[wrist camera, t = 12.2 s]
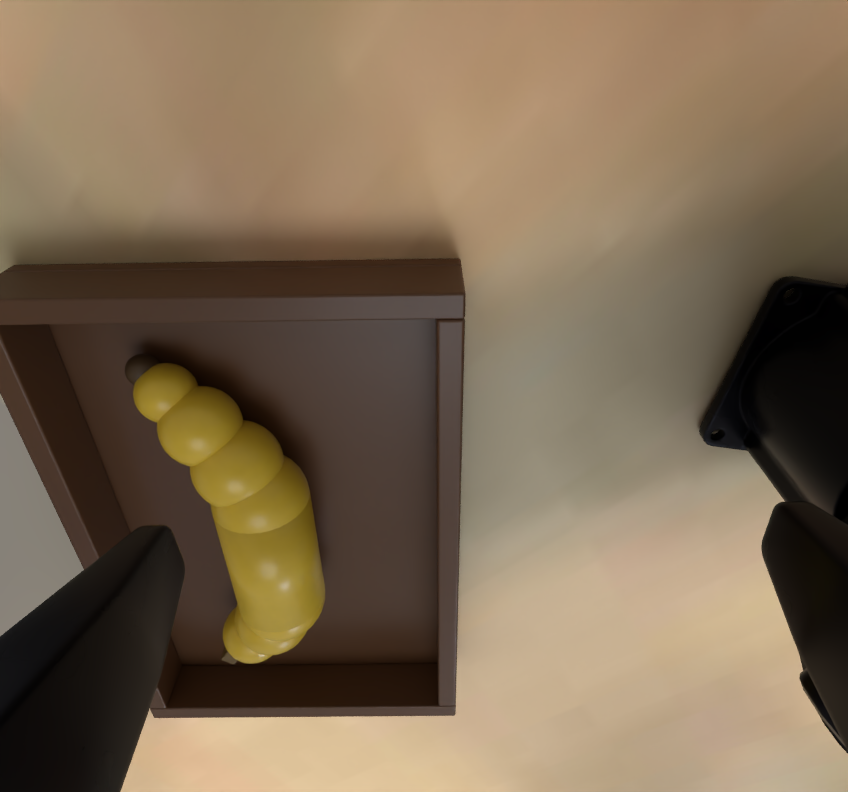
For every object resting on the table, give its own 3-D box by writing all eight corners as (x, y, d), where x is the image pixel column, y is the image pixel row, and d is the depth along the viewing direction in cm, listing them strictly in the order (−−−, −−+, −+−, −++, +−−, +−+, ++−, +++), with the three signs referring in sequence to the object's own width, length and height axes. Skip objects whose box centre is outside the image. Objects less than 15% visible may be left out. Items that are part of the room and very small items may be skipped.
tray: (453, 661, 30) (455, 716, 28) (174, 663, 30) (153, 718, 28) (460, 257, 19) (465, 293, 16) (13, 264, 19) (-46, 300, 16)
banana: (340, 632, 28) (331, 703, 25) (222, 634, 28) (199, 704, 25) (298, 343, 20) (277, 399, 17) (130, 345, 20) (81, 402, 17)
